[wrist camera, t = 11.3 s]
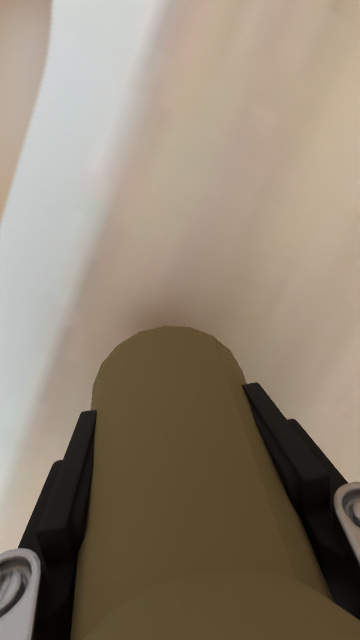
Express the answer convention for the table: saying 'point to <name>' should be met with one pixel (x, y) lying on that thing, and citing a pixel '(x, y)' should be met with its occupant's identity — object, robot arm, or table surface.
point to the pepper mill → (191, 508)
